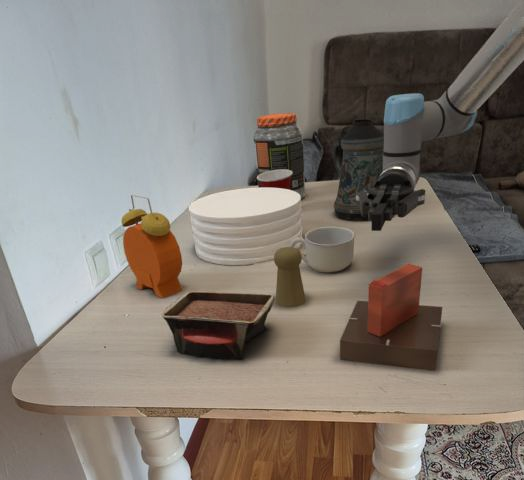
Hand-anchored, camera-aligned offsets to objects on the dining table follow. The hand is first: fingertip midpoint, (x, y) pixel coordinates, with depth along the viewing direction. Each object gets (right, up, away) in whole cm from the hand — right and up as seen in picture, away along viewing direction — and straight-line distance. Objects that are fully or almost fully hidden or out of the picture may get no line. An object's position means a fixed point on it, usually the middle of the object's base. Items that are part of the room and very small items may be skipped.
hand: (376, 222), depth 77 cm
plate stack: (-22, +7, +49) cm, 54 cm away
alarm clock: (-41, -7, +30) cm, 51 cm away
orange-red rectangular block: (+2, -16, -1) cm, 16 cm away
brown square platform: (+3, -20, +1) cm, 20 cm away
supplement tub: (-12, +31, +87) cm, 93 cm away
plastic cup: (-14, +22, +73) cm, 77 cm away
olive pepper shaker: (-13, -11, +17) cm, 24 cm away
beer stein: (+10, +19, +64) cm, 68 cm away
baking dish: (-25, -19, +6) cm, 32 cm away
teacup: (-5, -2, +31) cm, 31 cm away
